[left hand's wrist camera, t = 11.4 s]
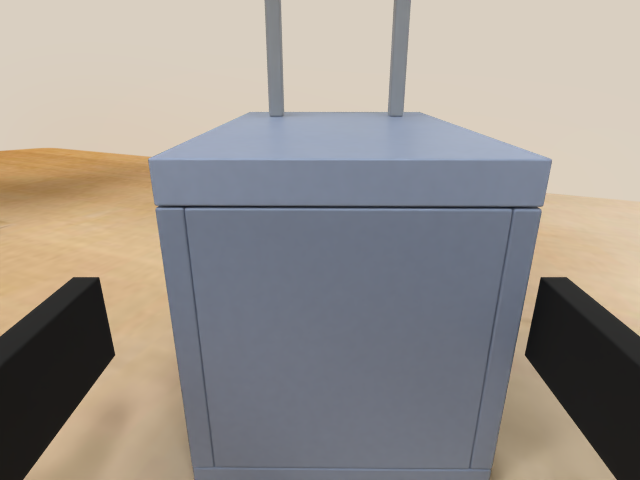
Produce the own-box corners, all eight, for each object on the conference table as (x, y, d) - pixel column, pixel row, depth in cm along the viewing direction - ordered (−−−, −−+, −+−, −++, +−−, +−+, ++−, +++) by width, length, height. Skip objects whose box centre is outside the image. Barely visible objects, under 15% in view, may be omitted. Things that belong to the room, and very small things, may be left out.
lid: (250, 133, 25) (241, -29, 22) (418, 133, 25) (431, -29, 22) (153, 206, 11) (92, -220, 8) (543, 207, 11) (627, -223, 8)
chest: (256, 287, 28) (247, 136, 24) (409, 288, 28) (421, 136, 24) (194, 484, 14) (153, 208, 11) (489, 486, 14) (543, 209, 11)
